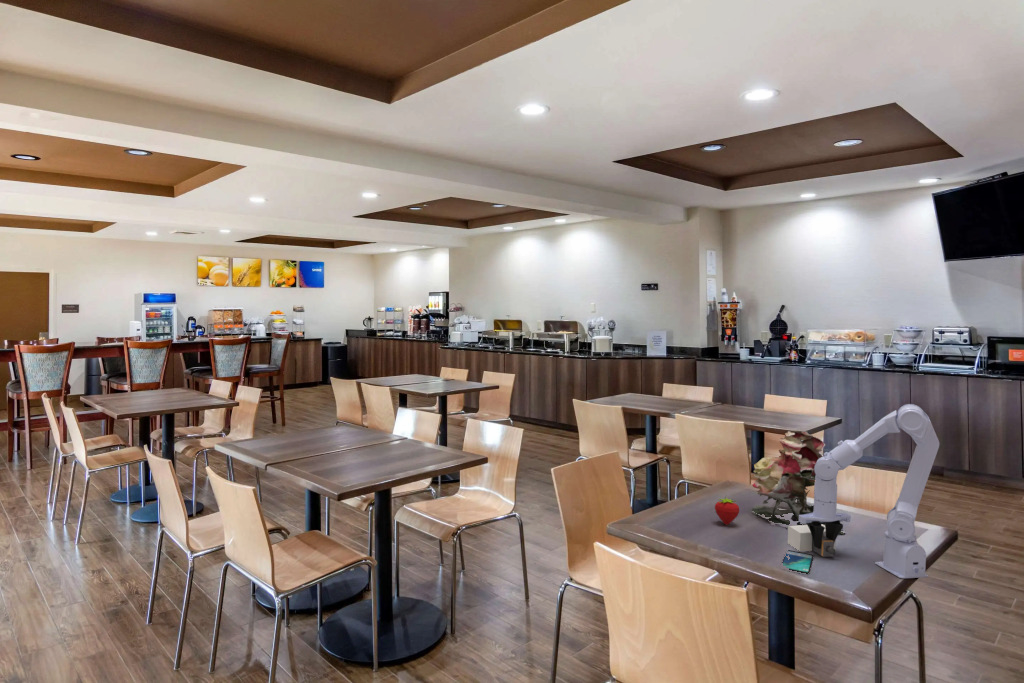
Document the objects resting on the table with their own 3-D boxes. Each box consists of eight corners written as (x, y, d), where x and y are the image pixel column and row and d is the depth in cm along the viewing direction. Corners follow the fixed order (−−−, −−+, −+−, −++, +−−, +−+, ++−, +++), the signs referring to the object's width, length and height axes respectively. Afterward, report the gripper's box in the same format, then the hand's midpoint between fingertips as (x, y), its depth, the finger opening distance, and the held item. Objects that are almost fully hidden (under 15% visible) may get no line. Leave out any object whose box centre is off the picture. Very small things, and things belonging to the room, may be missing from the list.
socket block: (835, 550, 175) (835, 531, 175) (799, 551, 174) (800, 533, 174) (822, 542, 181) (822, 524, 181) (787, 543, 180) (788, 525, 179)
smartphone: (814, 554, 171) (808, 573, 158) (814, 557, 171) (808, 576, 158) (786, 549, 175) (779, 567, 162) (786, 551, 175) (779, 570, 162)
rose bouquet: (810, 505, 216) (813, 421, 214) (855, 536, 186) (859, 439, 185) (737, 504, 216) (740, 421, 214) (771, 535, 187) (774, 438, 185)
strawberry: (737, 529, 191) (738, 498, 190) (712, 525, 194) (713, 495, 194) (740, 524, 196) (741, 493, 196) (715, 520, 200) (716, 490, 199)
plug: (837, 558, 168) (837, 543, 168) (826, 559, 168) (827, 544, 168) (817, 546, 177) (818, 532, 177) (807, 547, 176) (808, 532, 176)
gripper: (839, 494, 176) (837, 540, 177) (792, 496, 174) (791, 542, 175) (856, 502, 169) (854, 550, 170) (808, 504, 167) (806, 552, 168)
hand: (823, 547), depth 172 cm, fingers closed on plug, 3 cm apart
